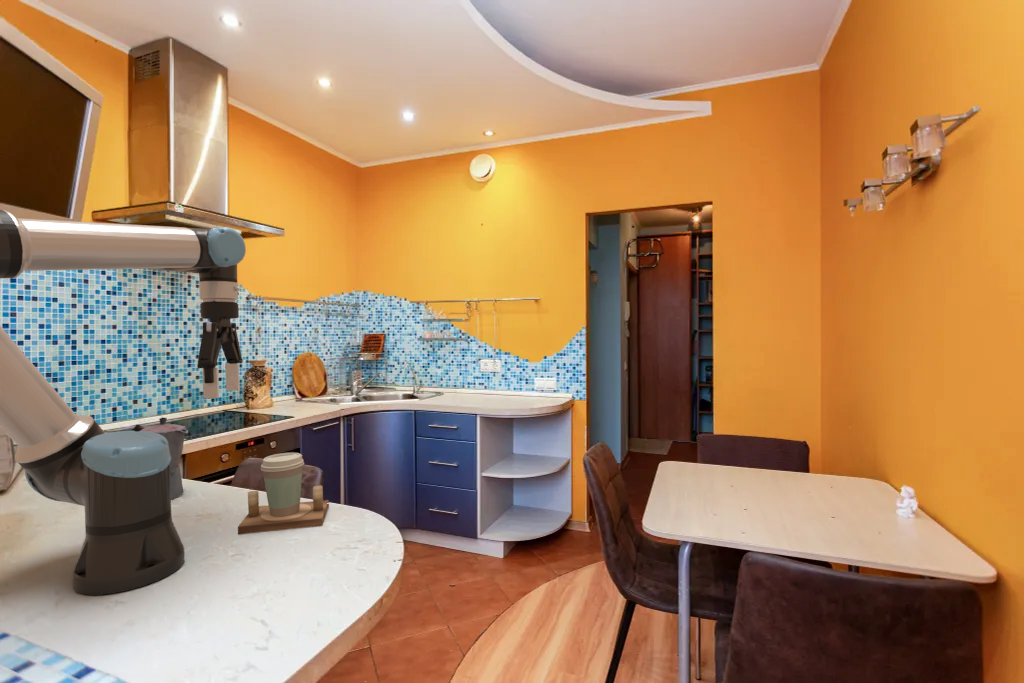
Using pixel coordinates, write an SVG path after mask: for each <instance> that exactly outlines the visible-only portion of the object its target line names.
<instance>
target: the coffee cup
mask: <svg viewBox="0 0 1024 683" xmlns="http://www.w3.org/2000/svg"><path fill="white" fill-rule="evenodd" d="M303 465H305V462H304V458H303V456H302V454H301V453H299V452H283V453H275V454H272V455H268V456H266V457H264V458H263V460H262V463H261V465H260V470H261V471H262V474H263V480H264V481H263V483H264V487H265V492H266V493H265V494H266V499H267V504H268V505H269V511H270V515H271V516H274V517H282V516H288V515H292V514H294V513H296V512H298V511H299V509H300V502H301V494H302V493H301V492H302V482H303V481H302V478H303Z"/></svg>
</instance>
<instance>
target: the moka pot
mask: <svg viewBox="0 0 1024 683" xmlns="http://www.w3.org/2000/svg"><path fill="white" fill-rule="evenodd" d="M167 419H168V418H167V417H160V418H159V419H158V420H159V424H155V425H151V426H150V425H141V424H135V426H134V427H133V429H132V430H131V431H148V432H154V433H157V434H160V435H162V436H164V437H165V438H166V439H167V441H168V445H169V451H170V455H171V461H170V485H171V500H174V499H177V498H180V497H181V496H182V495H183V494H184V487H183V480H182V471H181V465H180V463H181V462H180V461H181V460H180V459H181V457H182V455H183V450H184V442H185V436H186V434H189V430H188V429H187V428H186V426H185V425H182V424H181V425H180V424H172V423H171V424H170V423H167Z"/></svg>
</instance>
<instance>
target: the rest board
mask: <svg viewBox="0 0 1024 683" xmlns="http://www.w3.org/2000/svg"><path fill="white" fill-rule="evenodd" d="M323 489H324V488H323V485H314V486H313V487H312V501H303V502H301V501H300V509H299V511H298V512H296V513H294V514H292V515H288V516H282V517H274V516H271V515H270V511H269V505H260V504H259V503H260V502H259V501H260V500H259V499H260V498H259V491H258V490H252V491H249V492H247V503H248V505H247V508H248V509H247V510H248V513H247V514H246V515H245V517H244V518H243V520H242V521H241V522H240V523H239V525H238V526H237V535H243V534H252V533H253V534H255V533H261V532H272V531H273V532H274V531H282V530H291V529H292V530H293V529H302V528H311V527H312V528H313V527H320V526H321V527H322V526H323V523H324V522H325V518H326V515H327V512H328V510H329V507H330V504H327V503H330V502H329V499H325V500H324V494H323V493H324V491H323Z"/></svg>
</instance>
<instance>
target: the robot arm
mask: <svg viewBox="0 0 1024 683" xmlns="http://www.w3.org/2000/svg"><path fill="white" fill-rule="evenodd" d="M246 251H247V250H246V243H245V240H244V238H243V237H242V235H241V234H240V233H239V232H238V231H236V230H235V229H234V228H231V227H228V226H224V227H220V226H216V227H213V228H199V227H197V228H196V227H183V226H181V227H179V226H164V225H147V224H145V225H143V224H131V223H130V224H128V223H112V222H111V223H109V222H96V221H95V222H93V221H92V222H91V221H75V220H74V221H73V220H59V219H58V220H56V219H55V220H54V219H37V218H21V217H20V218H19V217H16V216H15V215H13V213H10V212H9V211H8V210H4V209H0V279H15V278H18V277H19V276H20V275H22V273H24V272H28V271H29V272H30V271H31V272H34V271H35V272H36V271H39V272H40V271H42V272H43V271H77V270H78V271H79V270H81V271H82V270H83V271H85V270H86V271H87V270H128V269H129V270H130V269H133V270H134V269H135V270H136V269H137V270H138V269H140V270H141V269H149V270H155V271H156V270H158V271H160V272H163V271H165V272H180V273H192V274H198V277H199V299H200V300H201V301H202V302H201V303H200V309H199V310H200V318H201V319H204V320H209V321H204V322H203V323H202V334H201V340H200V346H199V352H198V353H199V354H198V360H197V369H202V384H203V399H218V398H220V396H219V395H220V393H219V392H220V389H219V367H216V366H217V363H218V358H219V356H220V352H221V349H222V351H223V354H224V357H225V360H226V363H225V391H226V392H230V391H231V392H233V391H240V369H239V368H240V364H243V361H244V360H243V357H242V353H241V346H240V343H239V337H238V333H237V323H236V322H231V320H232V319H233V320H234V319H235V320H236V319H238V318H239V314H240V312H239V303H238V302H236V301H237V300H239V293H238V292H239V291H240V290H241V288H240V286H238V265H239V263H241V262H242V261H243V260H244V257H245V256H246ZM0 429H1V430H2V431H3V432H4V433H5V434H6V435H7V436H8V437H9V438H10V439H11V440H12V441H13V442H14V443H15V444H16V446H17V449H16V452H15V454H14V460H15V461H16V463H17V464H19V465H20V467H21V468H22V469H23V470H24V475H25V479H26V481H27V483H28V485H29V486H30V487H31V488H32V489H33V490H34V491H35V492H37V493H38V494H39V495H41V496H43V497H44V498H46V499H48V500H52V501H54V502H55V501H56V502H63V503H69V504H73V505H78V506H82V507H84V523H85V524H84V525H85V527H84V528H85V537H84V540H83V543H82V545H81V549H80V552H79V554H78V558H77V560H76V563H75V566H74V569H73V572H72V588H73V591H75V592H76V593H79V594H83V595H91V596H92V595H93V596H94V595H95V596H97V595H98V596H99V595H108V594H115V593H121V592H125V591H129V590H133V589H138V588H141V587H144V586H146V585H150V584H152V583H155V582H157V581H160V580H162V579H164V578H166V577H169V576H170V575H172V574H173V573H174V572H176V571H177V570H179V569H180V568H182V566H183V565H184V563H185V547H184V544H183V542H182V540H181V537H180V536H179V533H178V530H177V528H176V526H175V525H174V522H173V519H172V499H171V485H170V461H171V455H170V451H169V445H168V441H167V439H166V438H165V437H164V436H162V435H160V434H157V433H154V432H148V431H132V430H122V431H113V432H105V431H104V430H103V428H102V427H101V426H100V425H99V423H97V421H96V420H95V419H94V417H92V416H91V415H82V414H77V413H75V412H74V411H73V409H72V408H71V407H70V405H68V403H67V402H66V401H65V400H64V399H63V398H62V397H61V396H60V393H58V392H57V391H56V389H54V387H53V386H52V384H50V382H49V381H48V380H47V379H46V378H45V377H44V376H43V375H42V373H41V371H39V369H38V368H37V367H36V366H35V365H34V364H33V363H32V361H31V360H30V358H28V356H27V355H26V354H25V353H24V352H23V351H22V350H21V349H20V347H19V346H18V345H17V343H15V341H14V340H13V339H12V338H11V337H10V335H9V334H8V333H7V332H6V330H5V329H4V328H2V326H1V325H0Z"/></svg>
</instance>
